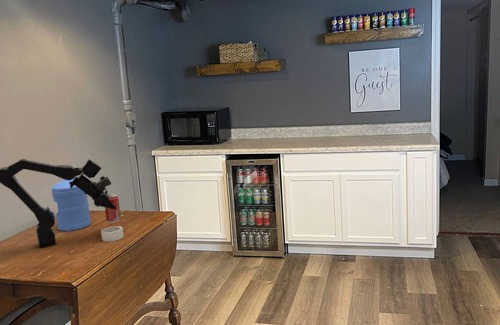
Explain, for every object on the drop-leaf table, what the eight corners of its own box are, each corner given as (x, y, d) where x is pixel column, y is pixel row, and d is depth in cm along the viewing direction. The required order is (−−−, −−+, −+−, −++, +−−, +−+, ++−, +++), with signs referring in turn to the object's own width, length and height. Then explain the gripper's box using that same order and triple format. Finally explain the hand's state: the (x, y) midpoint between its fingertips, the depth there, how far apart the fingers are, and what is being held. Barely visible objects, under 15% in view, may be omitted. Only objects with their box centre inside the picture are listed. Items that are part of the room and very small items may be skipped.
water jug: (96, 221, 241) (89, 166, 236) (80, 231, 226) (72, 173, 221) (68, 221, 244) (60, 167, 239) (50, 231, 228) (42, 174, 224)
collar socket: (106, 243, 206) (104, 234, 205) (99, 238, 213) (98, 229, 213) (126, 237, 211) (125, 229, 210) (119, 233, 218) (118, 224, 218)
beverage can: (115, 218, 223) (112, 193, 221) (123, 220, 219) (120, 194, 217) (103, 222, 218) (100, 196, 216) (112, 224, 214) (109, 197, 212)
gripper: (99, 175, 205) (128, 197, 210) (98, 168, 222) (125, 188, 227) (81, 195, 204) (111, 217, 209) (82, 187, 221) (110, 207, 226)
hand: (115, 206), depth 218 cm, fingers closed on beverage can, 6 cm apart
